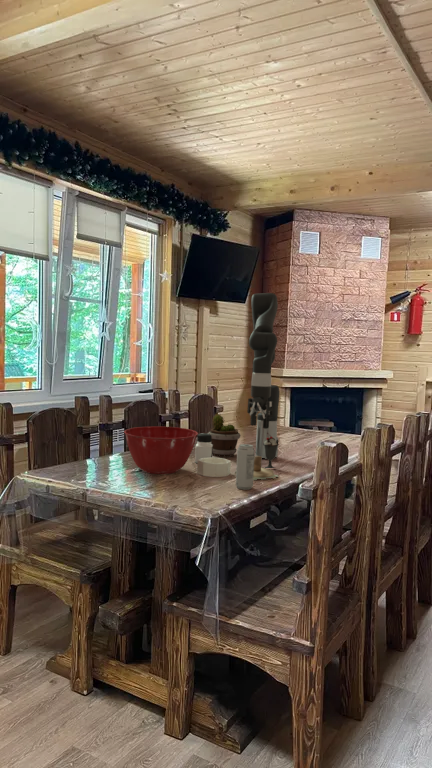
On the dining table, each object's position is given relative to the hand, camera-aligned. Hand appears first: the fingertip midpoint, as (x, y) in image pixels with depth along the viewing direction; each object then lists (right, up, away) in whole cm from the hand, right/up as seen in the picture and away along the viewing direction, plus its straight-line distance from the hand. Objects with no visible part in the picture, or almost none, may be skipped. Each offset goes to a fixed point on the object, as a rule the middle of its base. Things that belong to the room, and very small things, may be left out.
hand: (259, 426), depth 212 cm
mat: (-1, -19, +1) cm, 19 cm away
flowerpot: (-13, -17, +42) cm, 47 cm away
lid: (-1, -18, +1) cm, 18 cm away
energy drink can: (-7, -20, -19) cm, 29 cm away
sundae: (+6, -19, +16) cm, 25 cm away
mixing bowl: (-39, -18, +3) cm, 42 cm away
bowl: (-18, -18, +2) cm, 25 cm away
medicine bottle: (-22, -17, +25) cm, 37 cm away
